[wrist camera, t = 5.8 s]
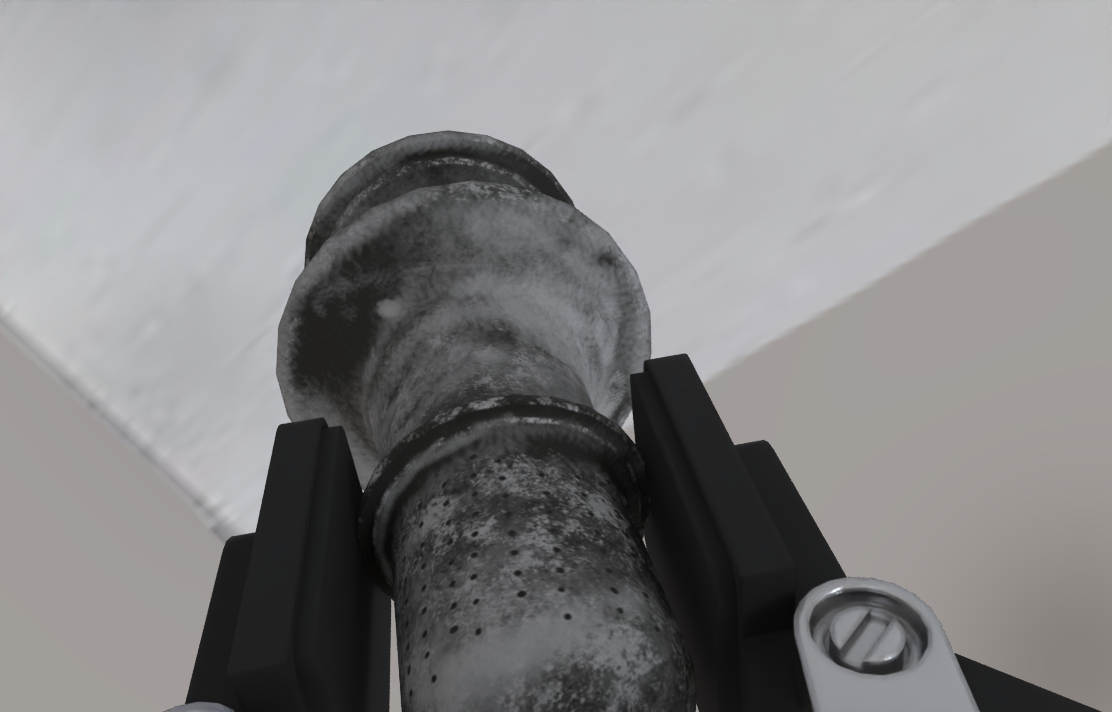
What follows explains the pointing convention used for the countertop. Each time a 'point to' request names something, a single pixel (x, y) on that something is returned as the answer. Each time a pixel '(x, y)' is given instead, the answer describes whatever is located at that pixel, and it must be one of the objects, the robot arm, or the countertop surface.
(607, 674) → the salt shaker
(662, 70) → the countertop surface
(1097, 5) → the countertop surface
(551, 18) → the countertop surface
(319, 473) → the robot arm
